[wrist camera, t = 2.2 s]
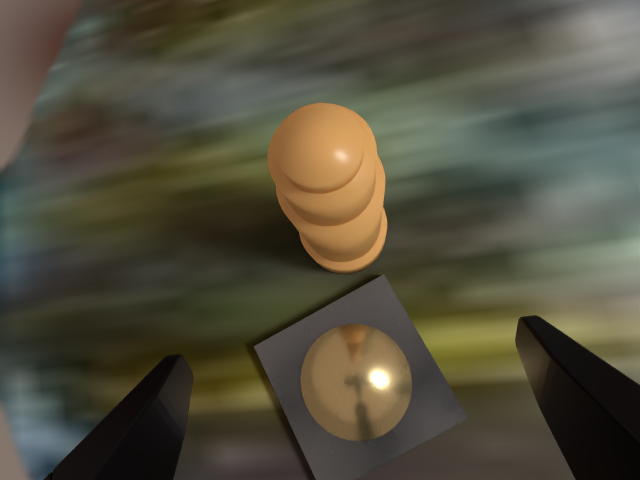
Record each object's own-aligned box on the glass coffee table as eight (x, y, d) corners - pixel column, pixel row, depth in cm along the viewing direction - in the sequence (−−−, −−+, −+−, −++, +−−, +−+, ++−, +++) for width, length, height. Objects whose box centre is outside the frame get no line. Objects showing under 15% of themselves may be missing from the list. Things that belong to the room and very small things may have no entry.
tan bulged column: (329, 288, 22) (283, 254, 10) (292, 221, 23) (213, 120, 12) (400, 249, 22) (435, 169, 10) (360, 183, 23) (349, 43, 11)
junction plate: (325, 491, 20) (323, 497, 19) (256, 345, 22) (253, 346, 21) (465, 415, 20) (468, 418, 19) (383, 275, 22) (383, 274, 21)
